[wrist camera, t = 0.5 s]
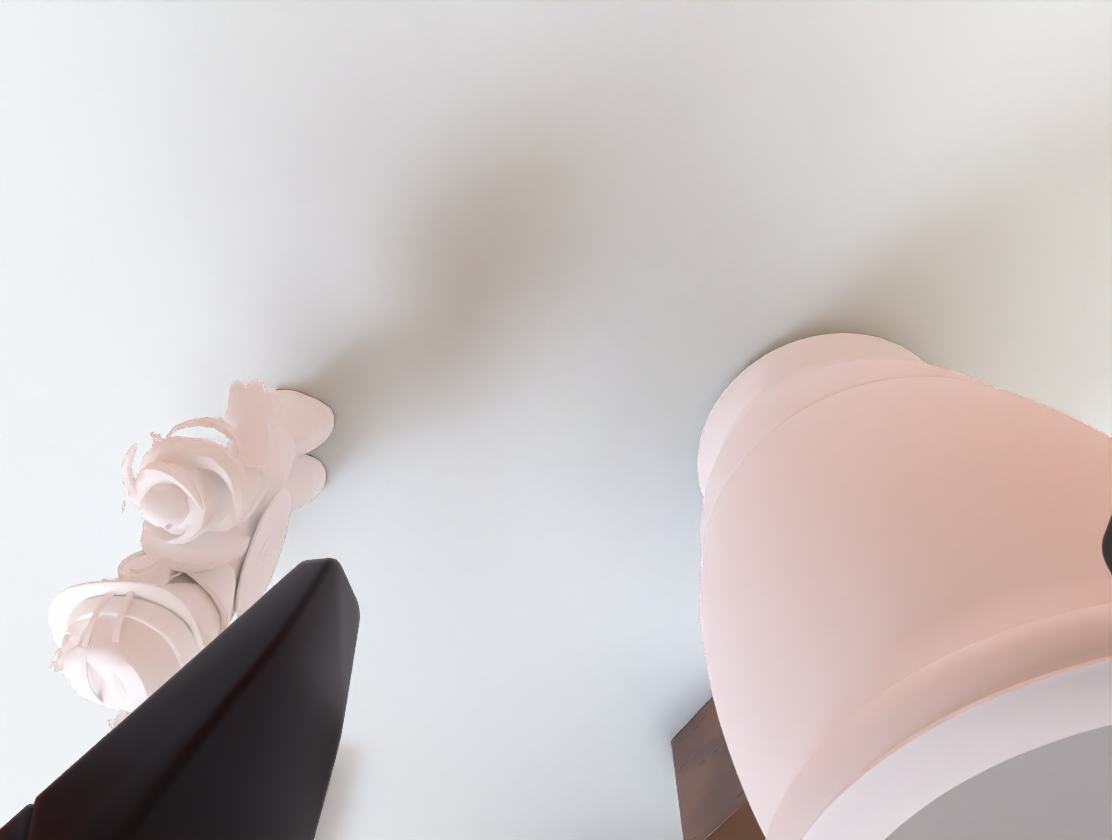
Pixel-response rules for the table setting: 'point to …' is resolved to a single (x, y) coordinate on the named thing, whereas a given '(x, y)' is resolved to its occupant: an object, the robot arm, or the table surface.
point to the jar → (906, 600)
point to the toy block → (710, 783)
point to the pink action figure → (192, 545)
